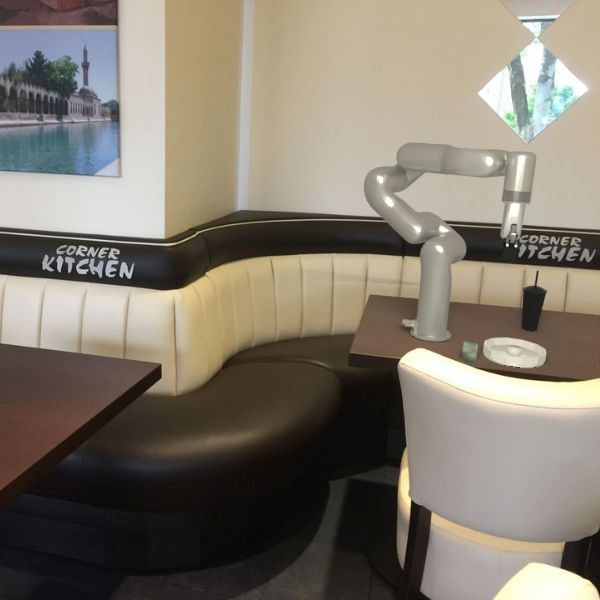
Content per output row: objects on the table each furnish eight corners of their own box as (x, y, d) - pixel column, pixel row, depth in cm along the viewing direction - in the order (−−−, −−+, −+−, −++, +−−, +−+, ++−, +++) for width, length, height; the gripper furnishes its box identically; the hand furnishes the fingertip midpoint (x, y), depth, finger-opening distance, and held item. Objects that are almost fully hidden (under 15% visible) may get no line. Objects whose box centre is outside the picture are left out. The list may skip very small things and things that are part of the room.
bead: (461, 361, 169) (463, 344, 168) (462, 356, 173) (464, 340, 171) (475, 363, 168) (477, 346, 166) (476, 358, 172) (478, 342, 170)
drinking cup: (520, 323, 206) (529, 267, 200) (543, 328, 202) (552, 270, 196) (514, 329, 200) (522, 270, 194) (537, 334, 196) (547, 274, 190)
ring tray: (481, 362, 169) (482, 352, 168) (484, 343, 184) (485, 334, 183) (545, 372, 164) (547, 361, 163) (543, 352, 179) (544, 342, 178)
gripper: (501, 194, 174) (493, 251, 179) (503, 199, 158) (495, 262, 163) (528, 195, 172) (520, 254, 177) (533, 201, 156) (524, 265, 161)
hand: (508, 258), depth 170 cm, fingers open, 9 cm apart
